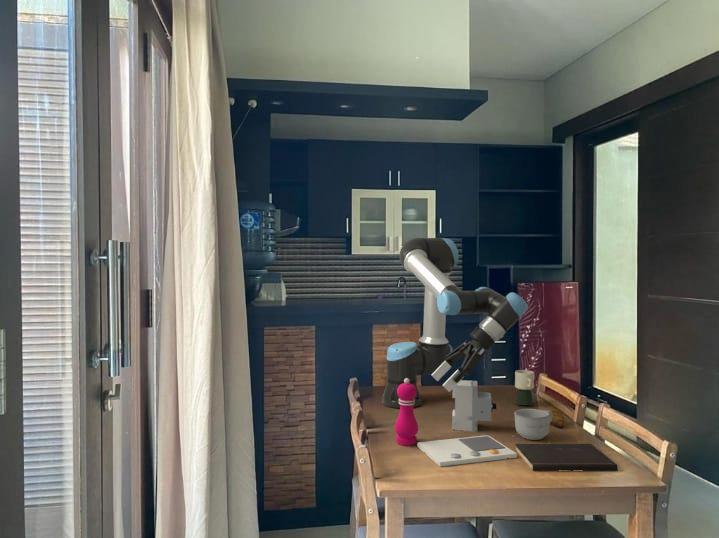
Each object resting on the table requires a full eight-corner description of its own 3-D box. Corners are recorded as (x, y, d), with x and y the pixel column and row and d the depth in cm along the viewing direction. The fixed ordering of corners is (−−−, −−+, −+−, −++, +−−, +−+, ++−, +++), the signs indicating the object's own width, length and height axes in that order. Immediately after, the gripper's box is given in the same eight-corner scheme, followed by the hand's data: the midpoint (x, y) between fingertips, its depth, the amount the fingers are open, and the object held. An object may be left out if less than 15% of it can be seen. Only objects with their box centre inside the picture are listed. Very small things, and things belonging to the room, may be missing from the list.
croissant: (571, 429, 178) (572, 414, 178) (551, 429, 178) (552, 414, 178) (555, 416, 192) (555, 403, 192) (537, 417, 192) (537, 403, 191)
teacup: (526, 444, 163) (527, 418, 163) (507, 433, 174) (507, 408, 174) (565, 440, 167) (565, 414, 167) (544, 429, 178) (544, 405, 177)
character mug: (539, 408, 201) (540, 374, 201) (521, 409, 200) (521, 375, 200) (527, 401, 212) (527, 368, 211) (509, 401, 211) (510, 368, 211)
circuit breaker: (496, 433, 174) (496, 387, 173) (452, 429, 177) (452, 385, 176) (495, 425, 181) (495, 382, 181) (452, 422, 184) (453, 379, 183)
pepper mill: (411, 437, 169) (412, 374, 169) (422, 444, 162) (422, 379, 162) (390, 440, 167) (391, 376, 166) (400, 448, 160) (401, 381, 159)
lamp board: (417, 446, 161) (417, 441, 161) (488, 438, 168) (488, 433, 168) (439, 466, 146) (439, 460, 146) (516, 457, 153) (516, 452, 153)
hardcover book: (514, 451, 159) (514, 443, 159) (591, 451, 159) (591, 443, 159) (532, 473, 143) (532, 464, 143) (617, 473, 143) (617, 464, 143)
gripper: (510, 349, 154) (460, 402, 153) (481, 336, 179) (437, 382, 178) (493, 331, 153) (442, 384, 152) (466, 321, 178) (422, 366, 177)
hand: (439, 383), depth 165 cm, fingers open, 13 cm apart
